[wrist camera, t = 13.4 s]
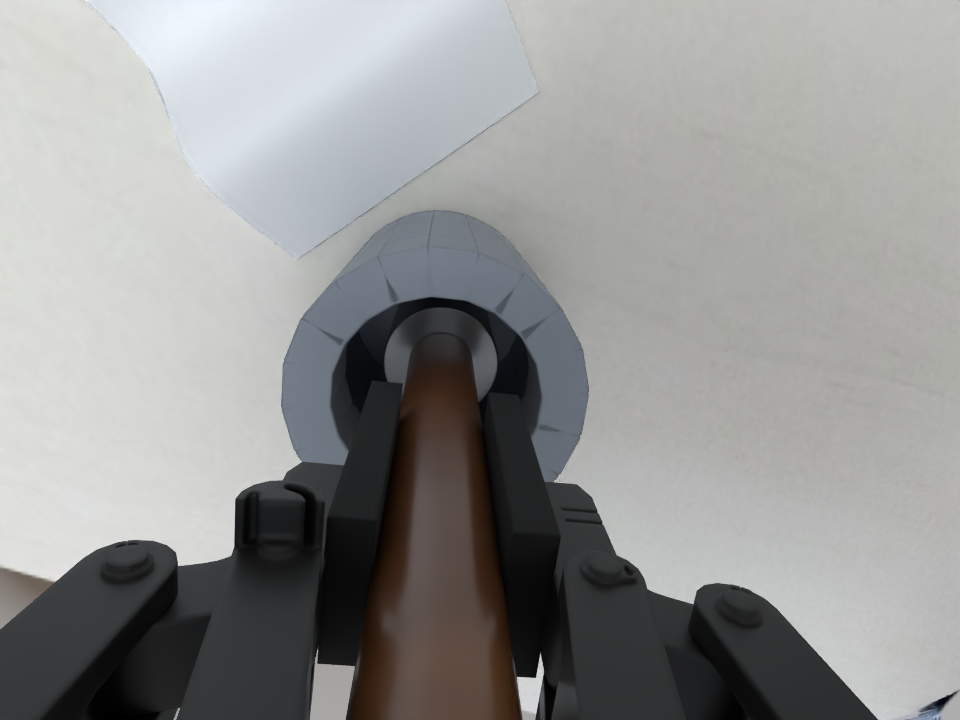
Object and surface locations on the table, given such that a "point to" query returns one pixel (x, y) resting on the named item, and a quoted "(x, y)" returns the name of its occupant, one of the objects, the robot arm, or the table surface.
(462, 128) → the file organizer
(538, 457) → the grey cylindrical holder
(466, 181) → the table surface
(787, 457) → the table surface
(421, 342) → the brown and grey rod
